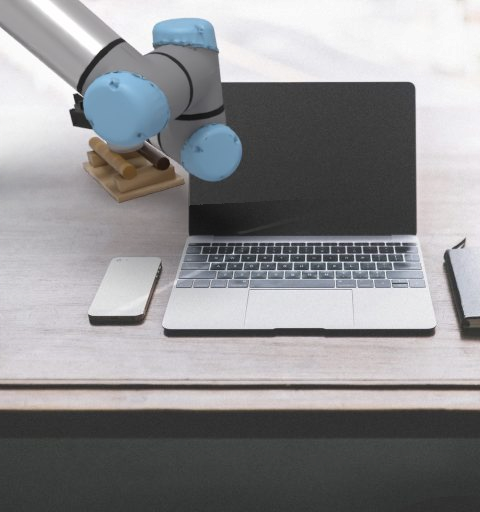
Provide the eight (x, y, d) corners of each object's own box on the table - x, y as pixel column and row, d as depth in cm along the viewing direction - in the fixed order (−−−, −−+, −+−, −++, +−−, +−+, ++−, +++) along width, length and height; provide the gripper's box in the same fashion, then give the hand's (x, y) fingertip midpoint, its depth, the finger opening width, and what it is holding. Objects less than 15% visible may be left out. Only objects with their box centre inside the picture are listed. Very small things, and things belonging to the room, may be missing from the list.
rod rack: (184, 183, 109) (180, 153, 106) (118, 202, 103) (111, 171, 100) (143, 152, 123) (138, 125, 120) (83, 167, 117) (76, 139, 114)
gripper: (89, 172, 85) (47, 131, 100) (247, 131, 97) (188, 100, 112) (76, 119, 81) (34, 85, 96) (242, 83, 93) (182, 58, 108)
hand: (117, 93), depth 104 cm, fingers open, 13 cm apart
